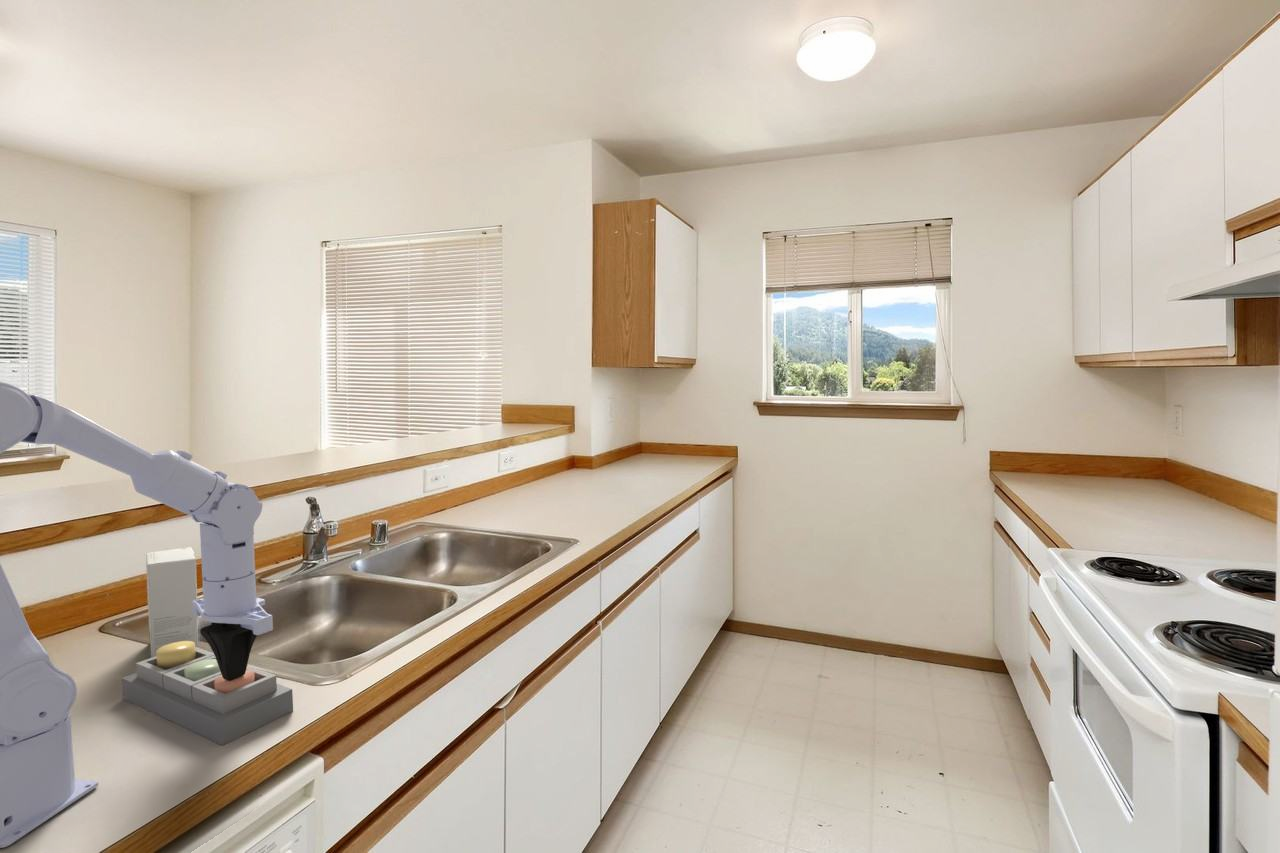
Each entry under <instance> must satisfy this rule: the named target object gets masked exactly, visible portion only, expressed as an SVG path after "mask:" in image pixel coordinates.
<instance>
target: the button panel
mask: <svg viewBox="0 0 1280 853" xmlns="http://www.w3.org/2000/svg"><path fill="white" fill-rule="evenodd" d="M195 651H196V658H195V660H192V661H189V662H186V663H184V664H181V665H178V666H175V667H173V668H159V667H157V656H155V657H153V658H151V657H150V658H147V659H144V660H142V661H138V662H135V667H136V668H135V669H136V672H134V673H132V674H128V675H126V676H123V677H121V688H122V700H124V701H127V702H129V703H132V704H134V705H135V706H136V707H137V706H138V707H140V708H142V709H144V710H146V711H148V712H151V713H153V714H154V715H157V716H159V717H161V718H163V719H165V720H167V721H170V722H171V723H174V724H176V725H177V726H180V727H183V728H185V729H187V730H189V731H190V732H193V733H195V734H198V735H199V736H202V737H204V738H206V739H208V740H210V741H211V742H215V743H216V744H219V745H221V746H224V745H227V744H228V743H230V742H233V741H234V740H237V739H239V738H240V737H243V736H244V735H246V734H249V733H251V732H253V731H255V730H257V729H259V728H261V727H263V726H265V725H267V724H269V723H271V722H273V721H276V720H277V719H279V718H282V717H283V716H286V715H287V714H290V713H291V712H293V711H294V701H293V700H294V699H293V697H294V696H293V695H294V694H293V688H290V687H288V686H285V685H282V684H279V683H278V682H277V675H276V674H273V673H271V672H267V671H265V670H262V669H259V668H256V667H254V666H251V665H248V664H247V668H246V670H251V671H253V672H254V677H255V682H253V683H250V684H248V685H246V686H243V687H241V688H238V689H236V690H234V691H231V692H229V693H227V694H224V693H221V692H219V691H216V690H215V687H214V681H215V680H216V679H217V678H218V677H220V676H221V675H222V674H221V672H218V673H215V674H212V675H210V676H207V677H205V678H202V679H200V680H197V681H192V680H189V679H187V678H185V672H184V670H185V668H187V667H188V666H190V665H192V664H194V663H196V662H200V661H204V660H209V659H216V657H215V655H214V653H213V651H212V652H211V651H209V650H205V649H202V648H200V647H198V648H197V647H195ZM250 731H251V732H250ZM248 732H249V733H248Z"/></svg>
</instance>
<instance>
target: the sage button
mask: <svg viewBox="0 0 1280 853" xmlns="http://www.w3.org/2000/svg"><path fill="white" fill-rule="evenodd" d="M184 672H185V678H187V679H189V680H192V681H197V680H200V679H202V678H205V677H207V676H210V675H212V674H215V673H218V672H220V669H219V666H218V663H217V660H216V659H209V660H204V661H200V662H196V663H194V664H192V665H190V666H188V667H187V668H185V670H184Z"/></svg>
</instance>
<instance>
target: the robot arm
mask: <svg viewBox="0 0 1280 853" xmlns="http://www.w3.org/2000/svg"><path fill="white" fill-rule="evenodd" d="M20 442H22V443H28V444H29V443H30V444H34V445H35V444H37V445H55V446H59V447H61V448H63V449H66V450H67V451H71V452H73V453H75V454H78V455H79V456H82V457H85V458H87V459H89V460H91V461H94V462H97V463H99V464H102V465H104V466H106V467H109V468H111V469H112V470H113V469H114V470H116V471H118V472H121V473H123V474H126V475H128V476H130V479H131V481H132V485H133V488H134V490H135V492H136V493H138V494H140V495H143V496H144V497H147V498H149V499H151V500H153V501H156V502H158V503H161V504H163V505H165V506H167V507H170V508H172V509H175V510H176V511H178V512H180V513H183V514H185V515H189V516H190V517H191V519H192V520H193V521H194V522H196V523H199V535H200V557H201V558H200V559H201V575H202V576H201V578H202V598H197V600H194V601H192V615H194V616H198V617H199V616H200V617H201V619H202V620H203V621H204V622H207V623H211V624H210V625H207V626H204V627H202V628H201V629H200V630H199V631H200V635H201V636H202V637H203V638H204V639H205V641H206V642H207V643H208V645H209V647H210V648H211V650H212V653H214V655H215V657H216V660H217V663H218V666H219V669H220V672H221V674H222V677H223V679H225V680H228V681H231V680H233V679H236V678H238V677H241V676H243V675H245V672H246V668H247V665H248V663H249V659H250V654H251V651H252V648H253V645H254V642H255V640H256V639H257V636H259V635H262V634H266V633H269V632H271V631H273V630H274V622H273V619H274V618H273V615H272V614H269V613H267V612H266V610H265V609H264V608H263V607H262V606H265V604H266V600H265V599H264V598H260V597H257V586H256V584H257V583H256V582H257V581H256V580H257V579H256V562H255V558H256V557H255V539H254V534H255V533H254V532H255V530H254V529H255V528H254V526H255V524H256V521H257V520H258V519H259V518H260V515H261V513H262V510H263V502H260V501H259V498H258V495H256V492H255V491H254V489H252V488H251V487H250V486H247V485H245V484H240V483H235V482H234V483H233V482H228V479H227V478H228V474H227V473H225V472H223V471H220V470H216V471H212V470H210V469H208V468H206V467H205V466H203V465H200V464H198V463H196V462H195V461H193V460H192V459H193V457H194V456H193V454H191V453H189V452H187V451H185V450H179V449H178V450H176V451H174V450H171V449H163V450H159V451H155V452H149V451H148V450H146V449H144V448H143V447H141V446H138V445H137V444H135V443H133V442H132V441H129V440H127V439H126V438H124V437H123V436H121V435H119V434H117V433H114V432H113V431H111V430H109V429H107V428H105V427H103V426H101V425H100V424H98V423H97V422H94V421H93V420H91V419H89V418H86V417H85V416H83V415H81V414H80V413H77V412H76V411H74V410H72V409H70V408H68V407H66V406H64V405H61V404H60V403H57V402H55V401H53V400H50V399H48V398H45V397H42V396H39V395H37V394H28V393H27V392H25V390H23V389H21V388H20V387H18V386H15V385H14V384H11V383H7V382H3V381H0V455H1V454H2V453H4V452H6V451H7V450H10V448H12V447H14V446H16V445H18V444H19V443H20ZM26 619H27V618H26V617H25V615H24V612H23V610H22V609H21V606H20V603H19V602H18V599H17V597H16V595H15V593H14V591H13V588H12V585H11V584H10V582H9V579H8V577H7V575H6V573H5V570H4V568H3V565H2V564H1V563H0V849H1V848H3V849H4V848H6V847H9V846H11V845H12V844H14V843H15V842H16V841H18V840H19V839H21V838H22V837H24V836H26V835H27V834H29V832H31V831H34V829H36V828H37V827H39V826H41V825H42V824H43V823H45V822H46V821H48V820H49V819H50V818H53V817H54V816H55V815H57V814H58V813H59V812H61V811H63V810H64V809H66V808H68V807H69V806H70V805H72V804H73V803H75V802H76V801H78V800H79V799H80V798H82V797H83V796H85V795H86V794H88V793H90V792H91V791H92V790H94V789H95V788H97V787H98V786H99V780H97V779H96V780H95V779H93V780H92V779H79V778H76V777H75V773H76V772H75V762H74V748H73V736H72V735H73V734H72V721H71V720H72V719H71V709H72V708H73V706H74V703H75V701H76V700H77V695H78V694H77V693H78V691H77V690H78V689H77V688H78V687H77V683H76V681H75V679H74V678H73V676H71V675H70V674H69V673H67V672H65V671H64V670H61V669H60V668H58V667H56V666H55V664H54V663H53V662H52V659H51V658H50V655H49V653H48V652H47V650H45V649H46V648H44V646H43V645H42V644H41V643H40V641H39V640H38V638H37V637H36V636H35V635H34V633H33V632H32V630H31V629H30V626H29V624H28V622H27V620H26Z"/></svg>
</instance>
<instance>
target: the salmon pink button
mask: <svg viewBox="0 0 1280 853" xmlns="http://www.w3.org/2000/svg"><path fill="white" fill-rule="evenodd" d="M253 682H255V677H254V672H253V671H251V670H246V672H245V675H243V676H241V677H238V678H236V679H233V680H231V681H228V680H225V679H223V677H222V675H221V676H220V677H218V678H217V679H216V680H215V681H214V687H215V690H216V691H219V692H221V693H224V694H227V693H229V692H231V691H234V690H236V689H238V688H241V687H243V686H246V685H248V684H250V683H253Z"/></svg>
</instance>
